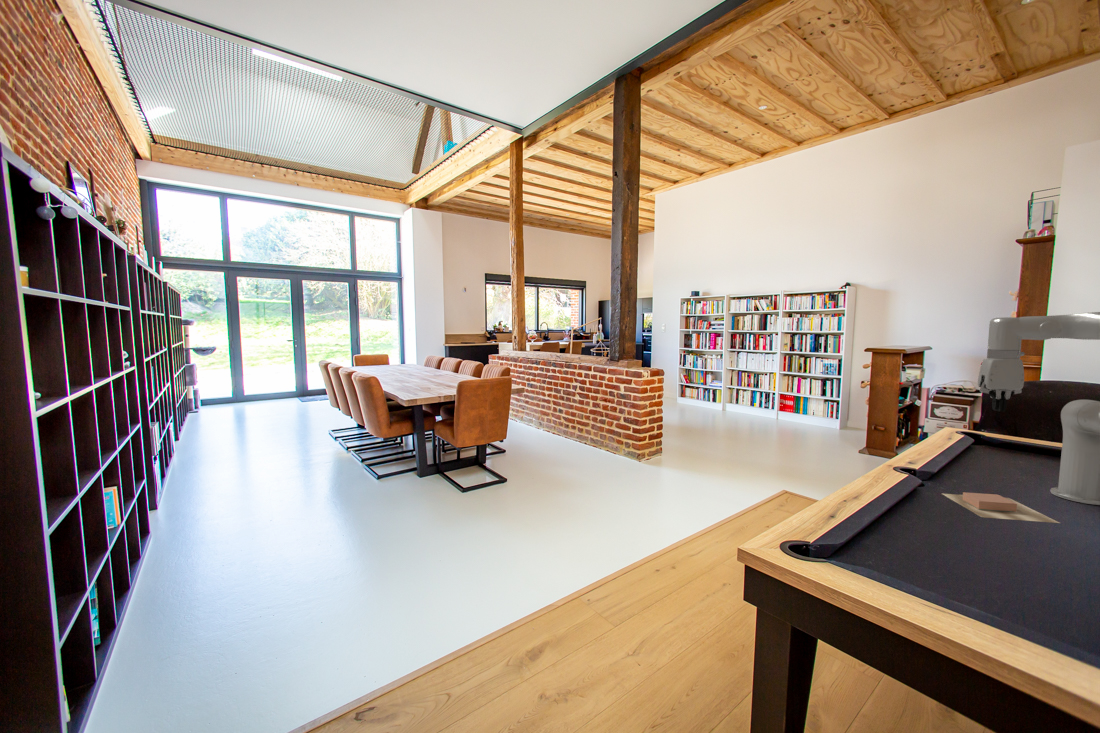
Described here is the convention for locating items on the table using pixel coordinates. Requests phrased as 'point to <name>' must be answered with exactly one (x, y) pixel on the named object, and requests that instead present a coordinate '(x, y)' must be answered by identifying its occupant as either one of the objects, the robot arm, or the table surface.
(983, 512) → the board
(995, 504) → the tile
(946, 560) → the table surface
